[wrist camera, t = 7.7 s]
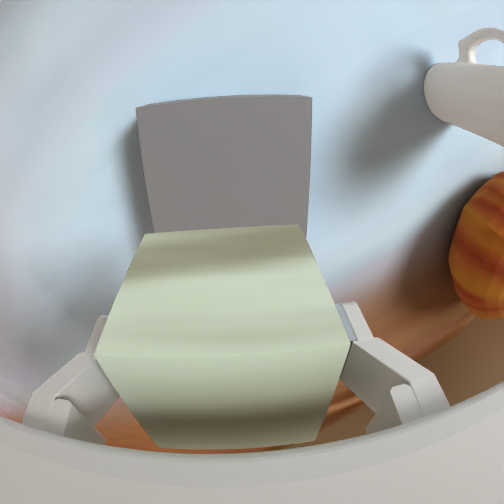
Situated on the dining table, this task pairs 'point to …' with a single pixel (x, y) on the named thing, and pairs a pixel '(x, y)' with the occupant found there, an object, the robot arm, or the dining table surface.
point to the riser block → (227, 161)
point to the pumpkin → (481, 251)
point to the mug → (469, 89)
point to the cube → (225, 338)
